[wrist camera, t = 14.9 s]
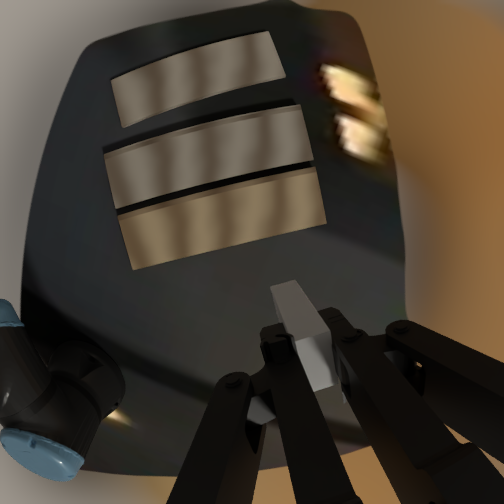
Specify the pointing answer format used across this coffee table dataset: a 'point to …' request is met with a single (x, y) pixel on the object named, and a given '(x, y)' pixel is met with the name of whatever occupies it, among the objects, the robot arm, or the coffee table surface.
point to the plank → (196, 76)
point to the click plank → (207, 154)
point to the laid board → (223, 217)
